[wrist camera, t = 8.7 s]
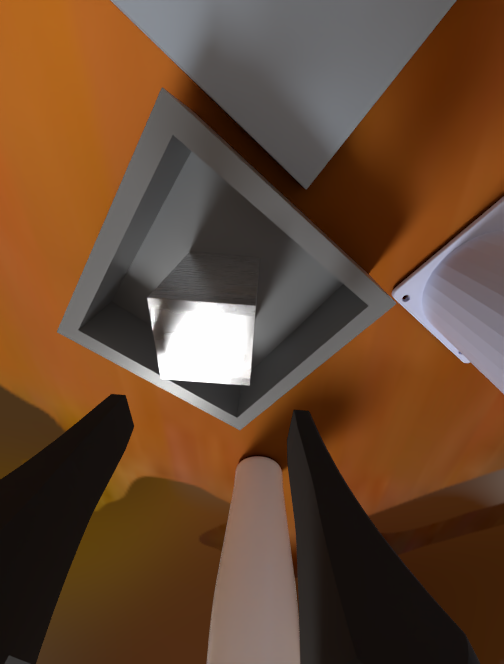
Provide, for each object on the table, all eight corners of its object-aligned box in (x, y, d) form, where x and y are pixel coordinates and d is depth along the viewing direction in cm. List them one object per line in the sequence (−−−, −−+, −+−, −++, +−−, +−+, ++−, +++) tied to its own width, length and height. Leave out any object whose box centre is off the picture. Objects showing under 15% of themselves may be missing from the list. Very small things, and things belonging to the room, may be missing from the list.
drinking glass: (219, 467, 31) (185, 673, 18) (255, 441, 28) (245, 667, 15) (262, 488, 33) (258, 687, 20) (300, 466, 30) (324, 683, 17)
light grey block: (259, 257, 17) (255, 305, 11) (255, 318, 19) (249, 385, 13) (189, 252, 17) (147, 297, 11) (193, 314, 19) (161, 378, 13)
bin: (368, 274, 18) (396, 303, 14) (244, 388, 24) (239, 430, 20) (191, 109, 13) (162, 87, 10) (97, 300, 20) (56, 332, 16)
